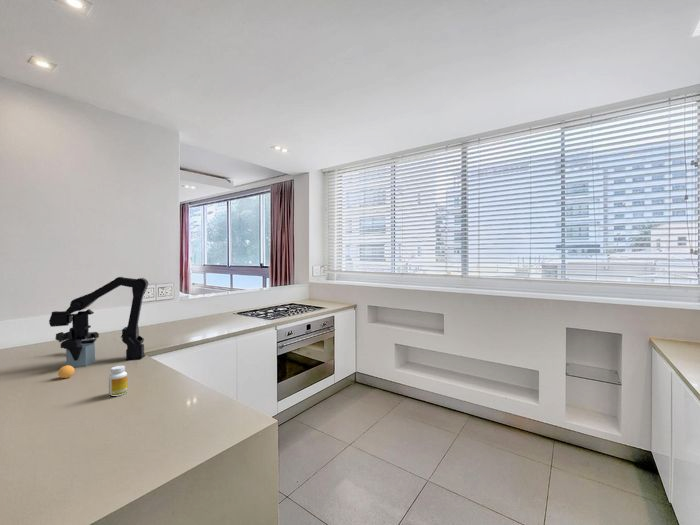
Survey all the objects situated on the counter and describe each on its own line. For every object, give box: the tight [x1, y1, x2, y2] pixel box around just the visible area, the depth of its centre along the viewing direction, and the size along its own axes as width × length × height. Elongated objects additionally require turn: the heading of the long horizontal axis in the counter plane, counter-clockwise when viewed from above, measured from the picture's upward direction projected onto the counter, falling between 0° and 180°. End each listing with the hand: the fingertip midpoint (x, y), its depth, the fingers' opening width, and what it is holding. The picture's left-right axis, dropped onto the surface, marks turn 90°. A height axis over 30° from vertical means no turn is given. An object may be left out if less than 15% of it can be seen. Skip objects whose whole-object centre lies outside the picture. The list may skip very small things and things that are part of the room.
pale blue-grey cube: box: [65, 342, 96, 368], centre depth 146 cm, size 8×8×9 cm
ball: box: [57, 365, 75, 379], centre depth 130 cm, size 5×5×5 cm
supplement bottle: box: [108, 365, 128, 396], centre depth 113 cm, size 5×5×10 cm
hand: (81, 357), depth 146 cm, fingers closed on pale blue-grey cube, 7 cm apart
